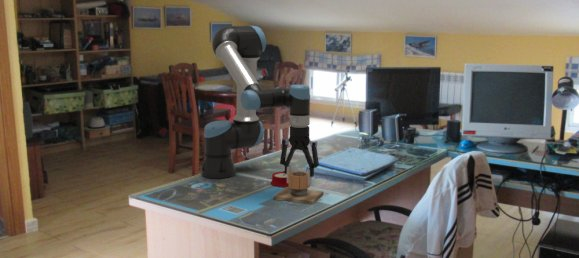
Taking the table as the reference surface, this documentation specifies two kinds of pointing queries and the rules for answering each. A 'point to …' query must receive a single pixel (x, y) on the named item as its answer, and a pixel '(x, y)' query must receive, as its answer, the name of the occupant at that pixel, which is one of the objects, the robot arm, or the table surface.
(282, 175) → the alarm clock
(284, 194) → the post board
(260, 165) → the table surface
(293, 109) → the robot arm
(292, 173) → the ring
